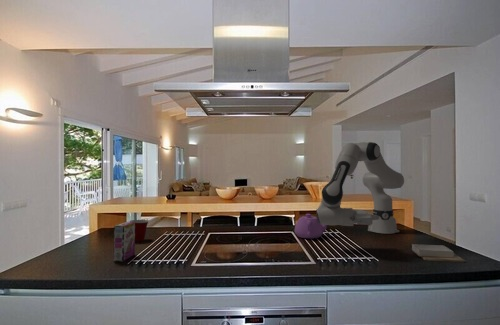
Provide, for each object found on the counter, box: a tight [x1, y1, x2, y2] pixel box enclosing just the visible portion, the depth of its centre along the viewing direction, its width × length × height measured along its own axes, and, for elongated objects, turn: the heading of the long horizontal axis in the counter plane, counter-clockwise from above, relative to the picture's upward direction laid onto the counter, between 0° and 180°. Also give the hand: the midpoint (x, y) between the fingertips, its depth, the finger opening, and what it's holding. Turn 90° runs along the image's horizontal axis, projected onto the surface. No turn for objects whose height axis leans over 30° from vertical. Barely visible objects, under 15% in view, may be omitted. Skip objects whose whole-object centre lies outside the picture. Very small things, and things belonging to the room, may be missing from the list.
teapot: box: [294, 213, 328, 239], centre depth 174 cm, size 22×22×14 cm
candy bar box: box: [113, 221, 136, 263], centre depth 136 cm, size 11×5×16 cm, turn 175°
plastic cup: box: [129, 219, 150, 243], centre depth 169 cm, size 11×11×12 cm
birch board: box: [419, 253, 466, 263], centre depth 134 cm, size 16×16×1 cm
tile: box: [411, 243, 455, 258], centre depth 135 cm, size 10×3×14 cm
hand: (378, 217), depth 141 cm, fingers closed
